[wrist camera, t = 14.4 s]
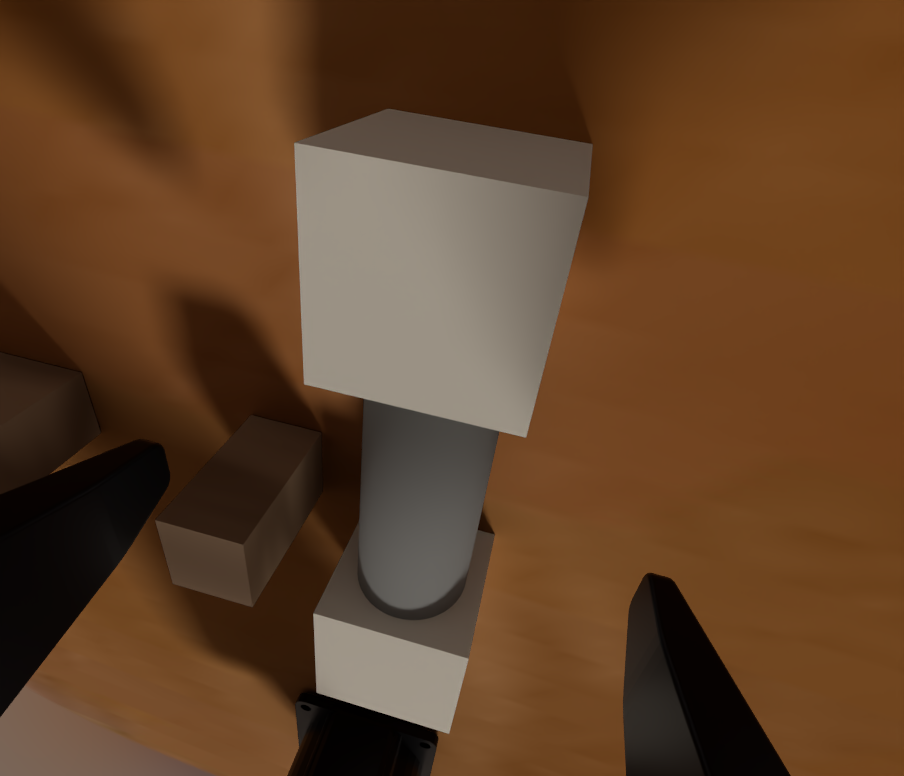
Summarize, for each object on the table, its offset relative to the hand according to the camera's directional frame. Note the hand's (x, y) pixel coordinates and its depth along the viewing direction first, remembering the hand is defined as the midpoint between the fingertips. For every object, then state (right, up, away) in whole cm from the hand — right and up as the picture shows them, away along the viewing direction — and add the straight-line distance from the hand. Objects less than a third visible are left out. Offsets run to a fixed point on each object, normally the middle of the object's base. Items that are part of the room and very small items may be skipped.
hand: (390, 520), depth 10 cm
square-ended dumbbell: (+1, +1, +5) cm, 5 cm away
